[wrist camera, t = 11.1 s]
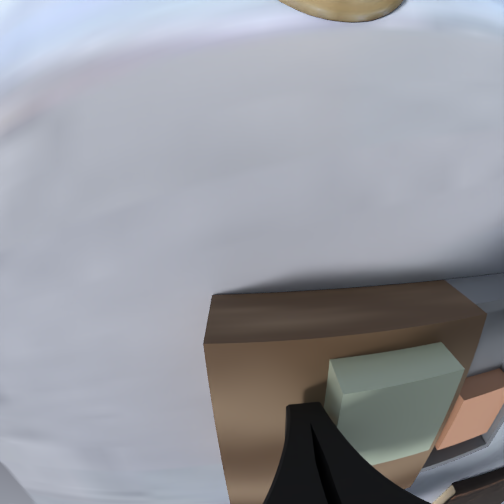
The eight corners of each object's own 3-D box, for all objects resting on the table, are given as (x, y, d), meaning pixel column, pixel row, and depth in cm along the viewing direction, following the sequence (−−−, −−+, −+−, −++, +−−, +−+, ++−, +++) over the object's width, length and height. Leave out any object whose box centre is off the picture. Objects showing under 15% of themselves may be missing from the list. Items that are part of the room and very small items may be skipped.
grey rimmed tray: (473, 423, 20) (488, 445, 17) (393, 448, 19) (405, 477, 17) (530, 269, 15) (559, 286, 12) (444, 279, 15) (475, 304, 12)
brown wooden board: (393, 448, 19) (410, 487, 16) (232, 468, 19) (232, 514, 15) (444, 279, 15) (487, 313, 11) (212, 294, 15) (203, 343, 11)
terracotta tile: (437, 450, 16) (427, 431, 18) (486, 432, 17) (475, 416, 19) (463, 400, 15) (450, 381, 17) (513, 383, 15) (499, 367, 17)
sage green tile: (414, 422, 13) (428, 449, 11) (318, 441, 13) (326, 473, 11) (441, 341, 11) (464, 368, 10) (329, 359, 11) (342, 394, 10)
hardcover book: (481, 508, 31) (485, 516, 29) (382, 537, 29) (385, 549, 26) (539, 449, 26) (545, 458, 24) (451, 479, 24) (458, 493, 22)
